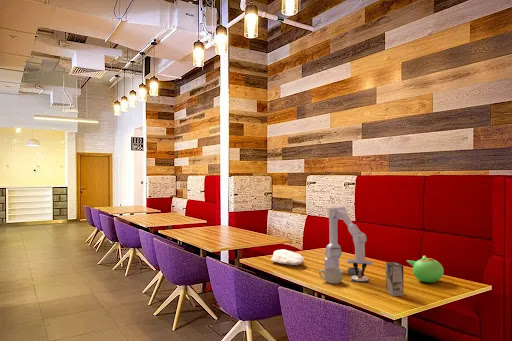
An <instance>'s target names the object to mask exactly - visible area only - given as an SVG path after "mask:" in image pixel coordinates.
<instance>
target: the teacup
mask: <svg viewBox="0 0 512 341" xmlns="http://www.w3.org/2000/svg"><path fill="white" fill-rule="evenodd" d="M321 273H323V275H324V276H323V275H322V274H321ZM318 275H319V276H320V277H321V278H322V279H323V280H325V281H326V283H328V284H332V285H337V284H340V283H342V281H343V269H341V268H340V267H339V268H326V269H325V270H323V269H320V270H318Z"/></svg>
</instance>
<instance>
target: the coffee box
mask: <svg viewBox="0 0 512 341" xmlns="http://www.w3.org/2000/svg"><path fill="white" fill-rule="evenodd" d="M404 287H405V286H404V265H402V264H400V263H398V262H396V261H395V262H394V261H388V262H385V291H386V292H388V294H389V295H391V296H392V297H403V296H404V294H405V291H404Z"/></svg>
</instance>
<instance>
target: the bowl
mask: <svg viewBox="0 0 512 341" xmlns="http://www.w3.org/2000/svg"><path fill="white" fill-rule="evenodd" d="M358 270H361V271H362V268H359V267H358ZM347 275H350V276H355V275H356V271H355V268H354V266H352V267H348V268H347Z"/></svg>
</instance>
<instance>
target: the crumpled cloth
mask: <svg viewBox="0 0 512 341" xmlns="http://www.w3.org/2000/svg"><path fill="white" fill-rule="evenodd" d="M270 261H272V262H275V263H279V264H282V265H283V264H285V265H291V266H298V265H300V264H302V263H303V262H304V261H305V258H304V257H303V255H302V254H300V253H297V252H294V251H292V250H287V249H284V248H283V249H277V250H274V251H273V254H272V257H271V258H270Z"/></svg>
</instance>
